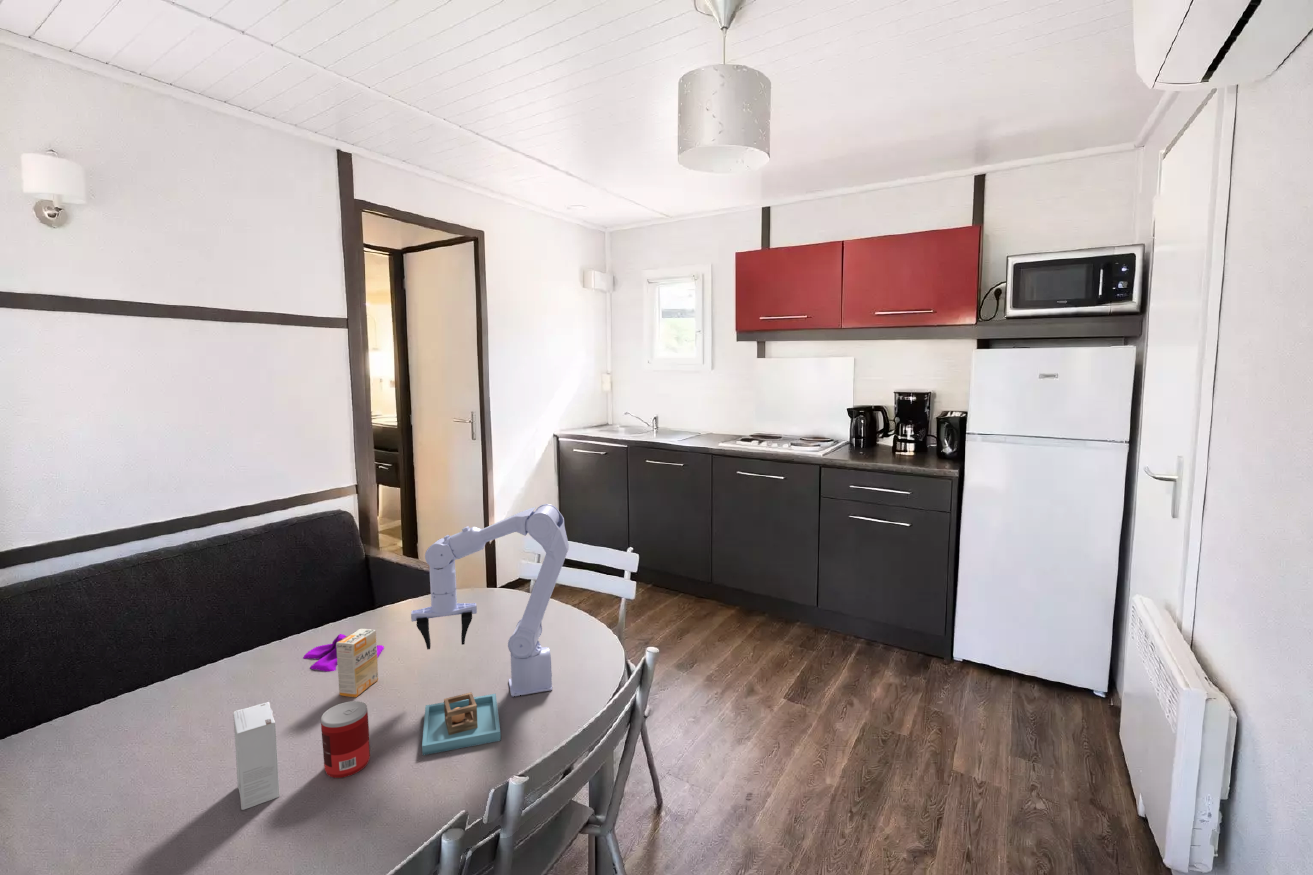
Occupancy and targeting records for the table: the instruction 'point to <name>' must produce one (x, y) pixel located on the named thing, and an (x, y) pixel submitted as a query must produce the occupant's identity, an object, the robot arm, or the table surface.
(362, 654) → the supplement box
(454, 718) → the ball
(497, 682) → the table surface
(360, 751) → the canned food
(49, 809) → the table surface
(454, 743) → the tray
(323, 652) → the cloth
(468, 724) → the wooden cage puzzle
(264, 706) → the skincare box
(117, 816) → the table surface
